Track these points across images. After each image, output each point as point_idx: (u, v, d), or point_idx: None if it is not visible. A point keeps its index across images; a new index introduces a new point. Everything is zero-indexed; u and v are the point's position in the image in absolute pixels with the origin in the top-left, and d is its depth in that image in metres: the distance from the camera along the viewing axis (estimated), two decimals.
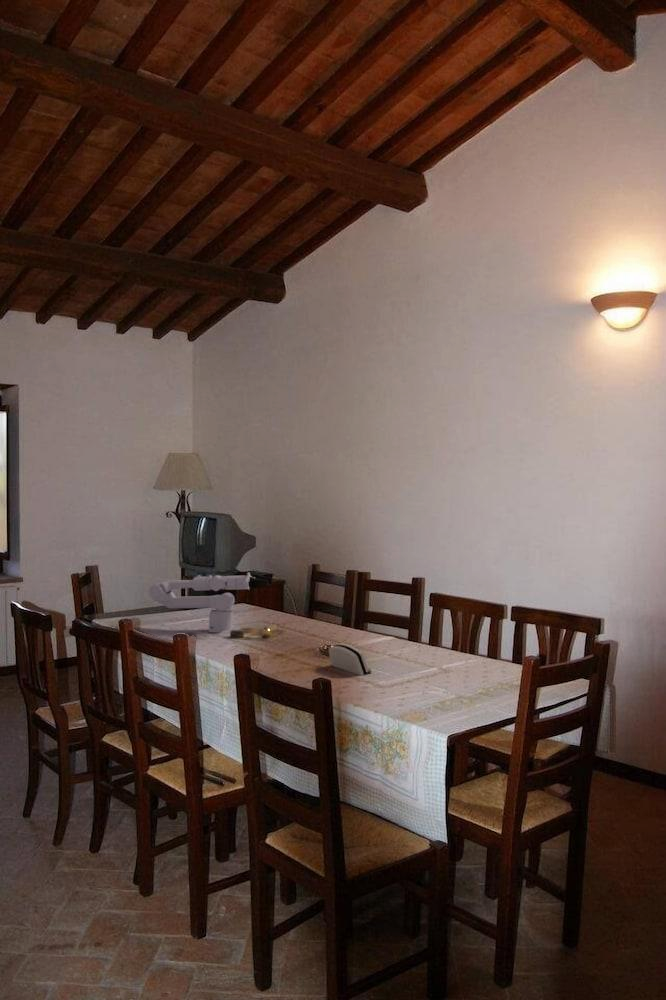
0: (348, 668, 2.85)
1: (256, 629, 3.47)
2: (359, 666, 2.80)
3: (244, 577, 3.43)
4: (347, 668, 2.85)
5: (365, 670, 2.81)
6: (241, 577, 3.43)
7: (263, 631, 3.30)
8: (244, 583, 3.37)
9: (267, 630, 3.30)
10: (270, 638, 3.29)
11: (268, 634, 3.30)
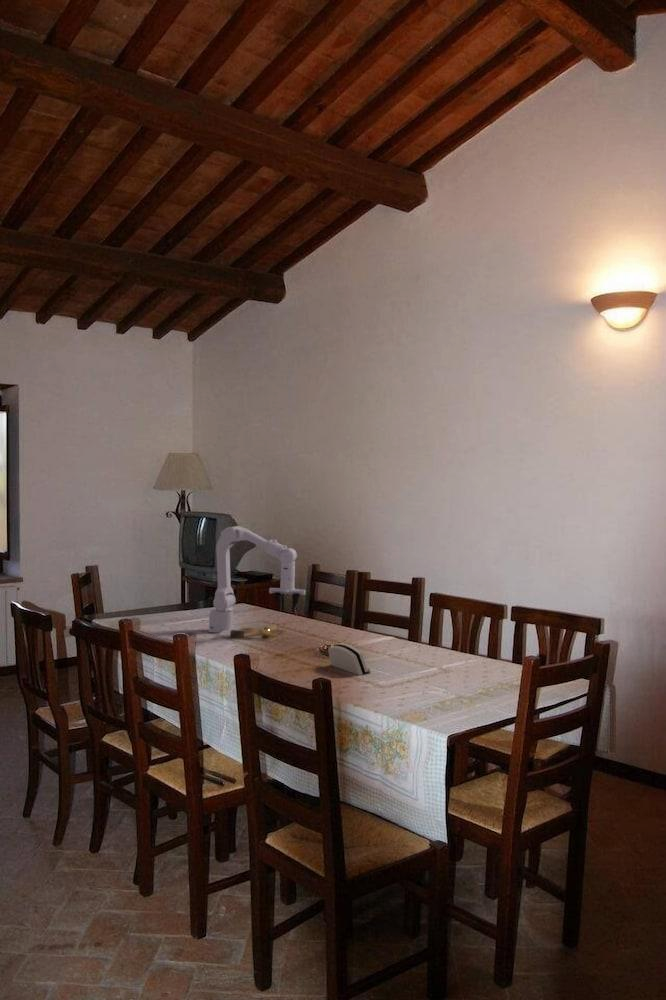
0: (348, 668, 2.85)
1: (256, 629, 3.47)
2: (358, 666, 2.80)
3: (282, 587, 3.36)
4: (346, 667, 2.85)
5: (364, 670, 2.82)
6: (282, 584, 3.36)
7: (263, 631, 3.30)
8: None
9: (267, 630, 3.30)
10: (270, 638, 3.29)
11: (268, 634, 3.30)
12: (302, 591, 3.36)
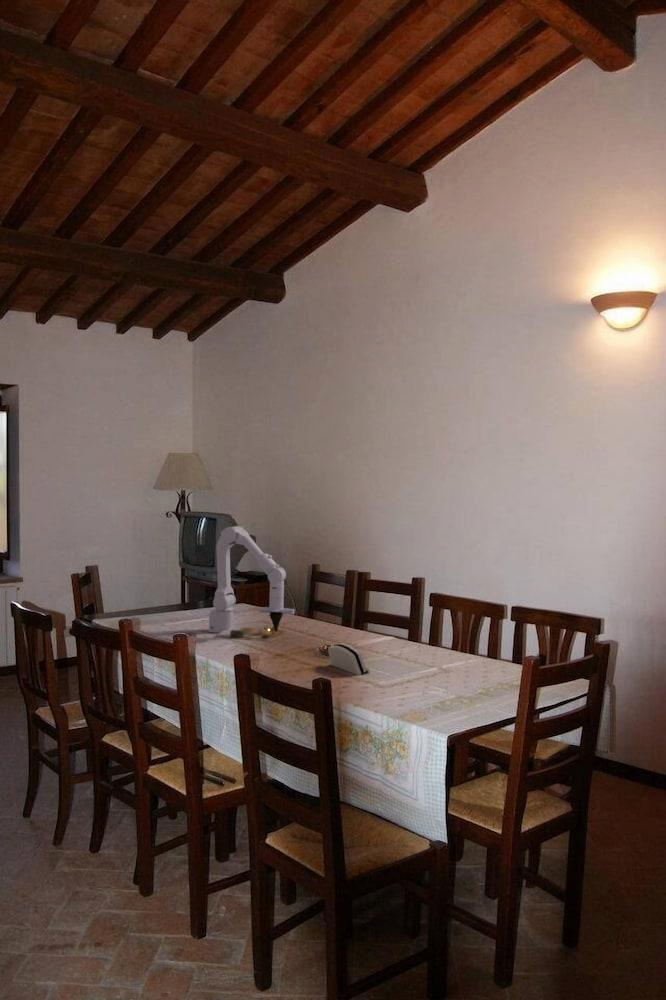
0: (347, 668, 2.85)
1: (256, 629, 3.47)
2: (356, 666, 2.80)
3: (271, 606, 3.37)
4: (346, 667, 2.86)
5: (363, 670, 2.82)
6: (271, 603, 3.37)
7: (263, 631, 3.30)
8: None
9: (267, 630, 3.30)
10: (270, 638, 3.29)
11: (268, 634, 3.30)
12: (291, 610, 3.37)
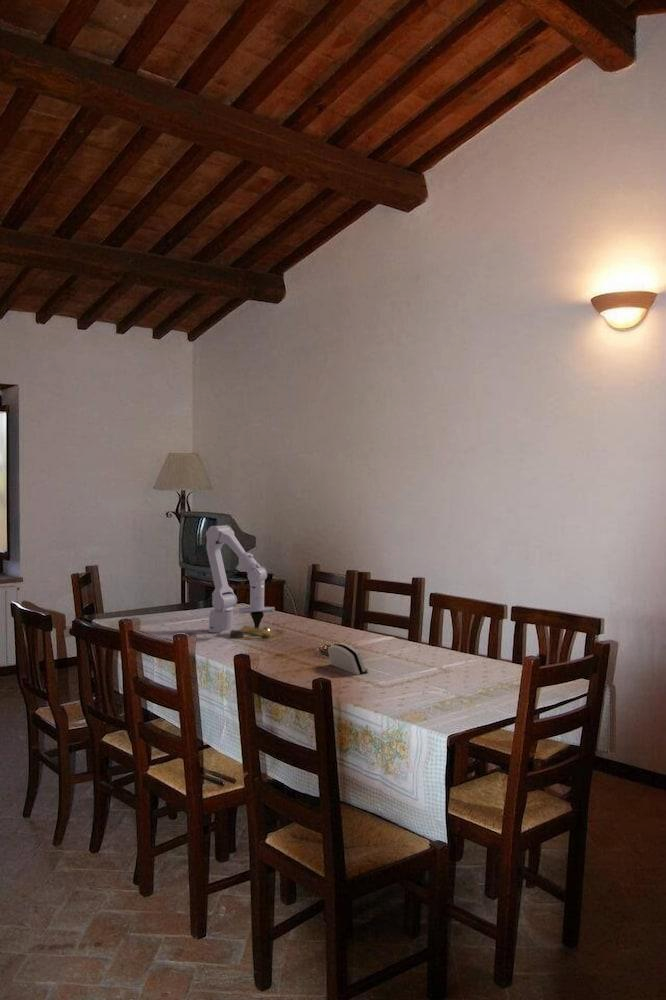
0: (346, 668, 2.85)
1: None
2: (355, 665, 2.81)
3: (254, 606, 3.35)
4: (345, 667, 2.86)
5: (361, 670, 2.82)
6: (254, 603, 3.35)
7: (267, 631, 3.30)
8: (240, 610, 3.35)
9: (269, 629, 3.31)
10: (270, 638, 3.29)
11: (269, 633, 3.31)
12: (272, 608, 3.39)
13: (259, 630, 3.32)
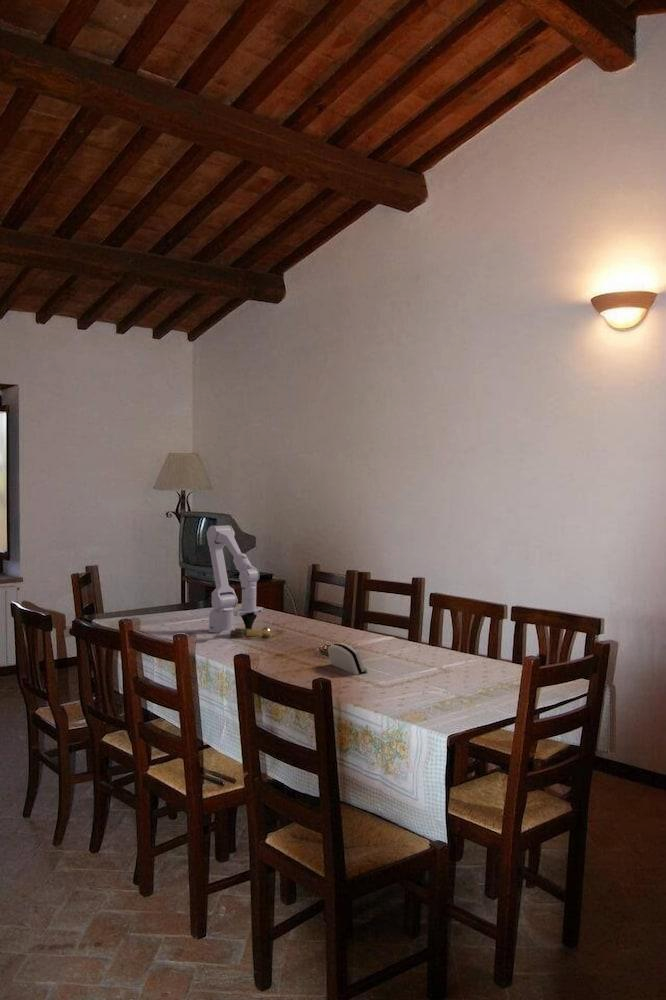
0: (345, 667, 2.86)
1: None
2: (354, 665, 2.81)
3: (249, 607, 3.32)
4: (344, 667, 2.86)
5: (360, 670, 2.82)
6: (250, 604, 3.32)
7: (268, 631, 3.30)
8: (236, 613, 3.29)
9: (269, 629, 3.32)
10: (270, 638, 3.29)
11: None
12: (261, 608, 3.39)
13: (258, 631, 3.31)
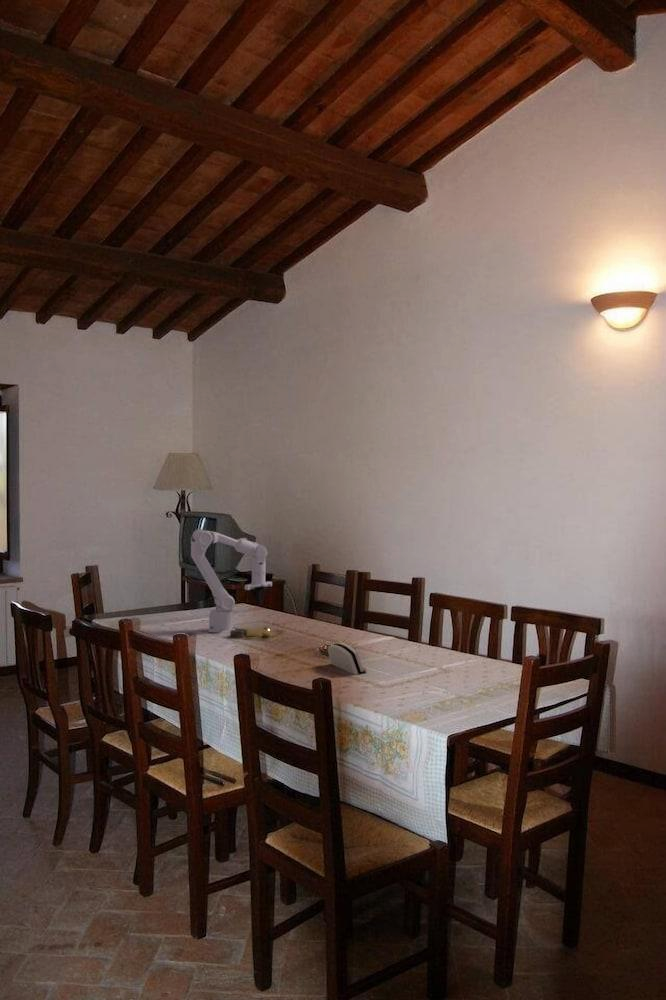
0: (345, 667, 2.86)
1: None
2: (353, 665, 2.81)
3: (259, 581, 3.49)
4: (344, 667, 2.86)
5: (360, 669, 2.82)
6: (259, 578, 3.49)
7: (268, 631, 3.30)
8: (247, 587, 3.46)
9: (269, 629, 3.32)
10: (270, 638, 3.29)
11: None
12: (270, 583, 3.56)
13: (258, 631, 3.31)
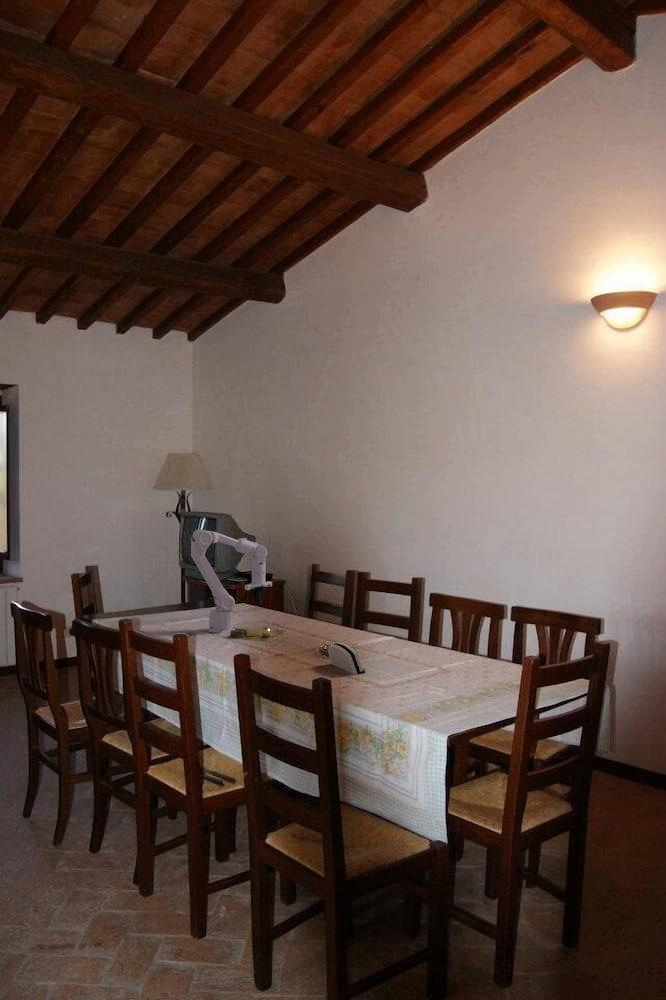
0: (344, 667, 2.86)
1: None
2: (352, 665, 2.81)
3: (259, 581, 3.49)
4: (343, 666, 2.87)
5: (359, 669, 2.82)
6: (259, 578, 3.49)
7: (268, 631, 3.30)
8: (247, 587, 3.46)
9: (269, 629, 3.32)
10: (270, 638, 3.29)
11: None
12: (270, 583, 3.56)
13: (258, 631, 3.31)
